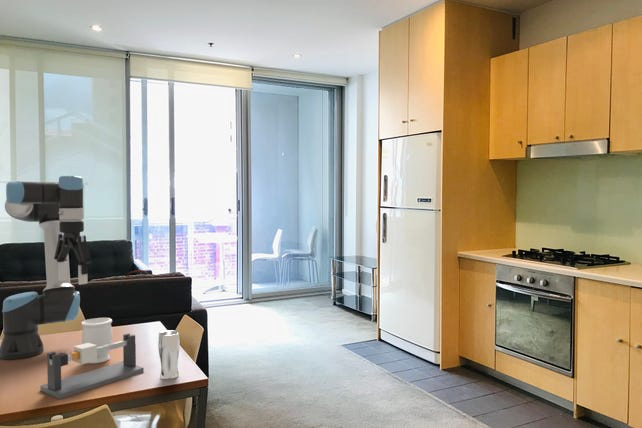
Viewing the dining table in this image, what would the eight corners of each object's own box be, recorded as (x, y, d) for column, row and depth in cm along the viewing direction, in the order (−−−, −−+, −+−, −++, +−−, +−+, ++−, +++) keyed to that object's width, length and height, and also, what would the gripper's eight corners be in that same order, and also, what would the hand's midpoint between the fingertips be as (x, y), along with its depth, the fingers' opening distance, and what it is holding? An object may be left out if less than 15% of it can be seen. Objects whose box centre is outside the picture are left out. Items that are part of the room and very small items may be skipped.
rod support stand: (40, 390, 156) (39, 351, 156) (123, 365, 179) (123, 331, 179) (59, 399, 149) (58, 358, 149) (143, 371, 172) (143, 336, 172)
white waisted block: (167, 371, 173) (167, 329, 172) (184, 374, 170) (183, 331, 170) (154, 378, 166) (153, 334, 166) (171, 381, 164) (170, 336, 163)
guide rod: (48, 366, 154) (48, 356, 153) (129, 344, 176) (129, 335, 176) (53, 368, 152) (53, 358, 152) (134, 346, 174) (134, 337, 174)
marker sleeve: (73, 361, 161) (73, 346, 161) (88, 357, 165) (88, 342, 165) (82, 364, 158) (81, 348, 158) (96, 360, 162) (96, 345, 162)
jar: (101, 365, 179) (100, 324, 178) (75, 364, 181) (75, 323, 180) (118, 356, 189) (118, 317, 189) (94, 355, 191) (94, 316, 191)
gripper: (42, 220, 174) (44, 280, 175) (79, 222, 160) (81, 287, 160) (64, 219, 180) (65, 277, 181) (101, 221, 166) (102, 284, 167)
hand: (72, 282), depth 171 cm, fingers open, 13 cm apart
